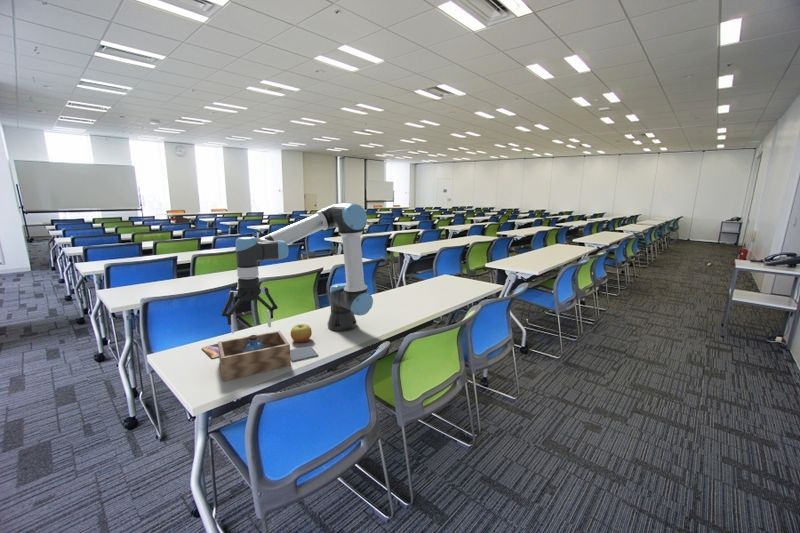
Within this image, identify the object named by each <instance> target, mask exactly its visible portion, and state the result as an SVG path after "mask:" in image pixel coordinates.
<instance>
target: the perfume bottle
mask: <svg viewBox="0 0 800 533" xmlns="http://www.w3.org/2000/svg"><path fill="white" fill-rule="evenodd" d="M257 335H258V334H251V335H249V344H248V345H246V346H245V348H244V350H243V351H242V353H245V352H250V351H254V350H259V349H264V348H265V347H264V346H263V344H262V343H259V342H258V338H257Z"/></svg>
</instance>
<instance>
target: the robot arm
mask: <svg viewBox="0 0 800 533" xmlns="http://www.w3.org/2000/svg"><path fill="white" fill-rule="evenodd" d="M367 221H368V215H367V211H366V209H364V207H362V206H361V205H360V204H358V203H352V202H347V203H345V202H344V203H341V202H338V203H334V204H331V205H329V206H326V207H324V208H322V209H319V210H318V211H316V212H315V214H314V215H311V216H308V217H306V218H304V219H302V220H300V221H297V222H295V223H292V224H290V225H287V226H285V227H283V228H280V229H278V230H276V231H273V232H271V233H268V234H267V235H266V234H265V235H264V236H261V237H255V236H242V237H237V238H236V240H235V257H236V271H237V277H238V279H237V286H238V289H237V290H232V289H231V290H230V291H229V294H228V298H227V300H226V301H225V302H226V303H225V304H224V306H223V309H222V311H221V316H222V317H226V320H227V325H228V326H230V331H231V334H235V324H234V315H233V314H234V313H235V311H236V310H237V309H238V308H239V307H240V305H242V304H243V302H244V301H245V302H250V301H255V300H258V301H259V302H260V303H261V304H262V305H263V306H264V307H265V308H266V309H268V310H266V314H267V327H268V328H272V319H273V318H274V310H277V309H278V308H279V307H278V306H277V304H276V302H275V301H274V299H273V297H272V296H271V294H270V292H269V288H268V287H267V286H264V287H260V278H259V276H260V275H259V262H262V261H274V260H278V261H279V260H282V259H286V258H288V256H289V245H291V244H292V243H295V242H297V241H299V240H301V239H303V238H305V237H308V236H310V235H312V234H315V233H317V232H319V231H321V230H323V231H326V230H329V229H332V228H337V230H338V233H337V234H338V235H340V237H341V238H342V240H341V241H342V249H343V259H344V260H343V262H344V271H345V272H344V273H345V282H342V283H335V284H332V285H331V286H330V288H329V299H330V300H329V301H330V314H329V318H328V321H327V328H328V329H329V330H331V331H334V332H335V331H336V332H345V331H346V330H347V331H350V329H351V330H353V328H354V329H355V328H356V327H357V319H356V317H355V316H359V317H360V316H365V315H366V314H368V313H369V312H370V310H371V309H372V307H373V304H374V298H373V296H372V295H371V294H370V293H369V291H368V285H366V284H365V280H364V279H365V278H364V277H365V276H364V266H363V252H362V241H361V240H362V239H361V238H362V237H361V235H362V234H363V232H364V227H365V226H366V224H367ZM261 293H263V294H264V295H265V296H266V297H267V299H268V300H269V302H270V304H271V305H272V306H271V305H270V304H269V303H267V302H266V301H265V300H264V299H263V298H262V297H261V296H260V294H261ZM237 295H238V298H237V300H236V302H234V304H233V305H232V306H231V304H232V302H233V299H234V298H235V297H236V296H237ZM230 306H231V308H230ZM229 308H230V309H229Z"/></svg>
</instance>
